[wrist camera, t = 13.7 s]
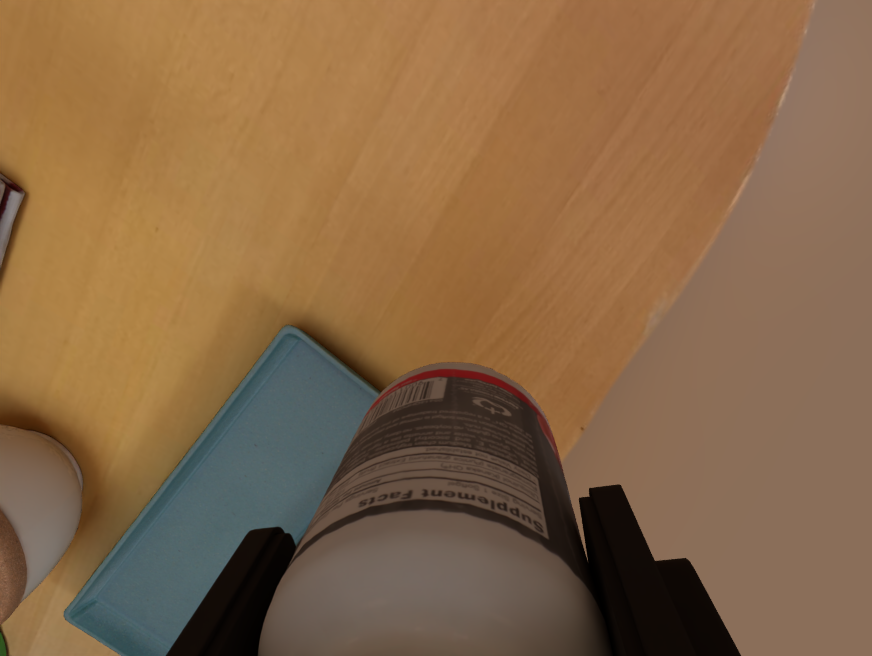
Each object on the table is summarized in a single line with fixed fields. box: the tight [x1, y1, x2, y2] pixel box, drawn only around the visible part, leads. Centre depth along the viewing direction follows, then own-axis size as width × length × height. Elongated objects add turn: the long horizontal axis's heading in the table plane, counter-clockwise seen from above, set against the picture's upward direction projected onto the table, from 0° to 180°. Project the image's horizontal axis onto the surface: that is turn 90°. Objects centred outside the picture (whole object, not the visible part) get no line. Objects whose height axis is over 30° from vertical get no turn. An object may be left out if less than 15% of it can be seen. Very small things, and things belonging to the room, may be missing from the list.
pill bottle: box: [258, 362, 613, 656], centre depth 9 cm, size 5×5×10 cm
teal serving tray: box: [64, 325, 381, 656], centre depth 30 cm, size 26×9×2 cm, turn 140°
